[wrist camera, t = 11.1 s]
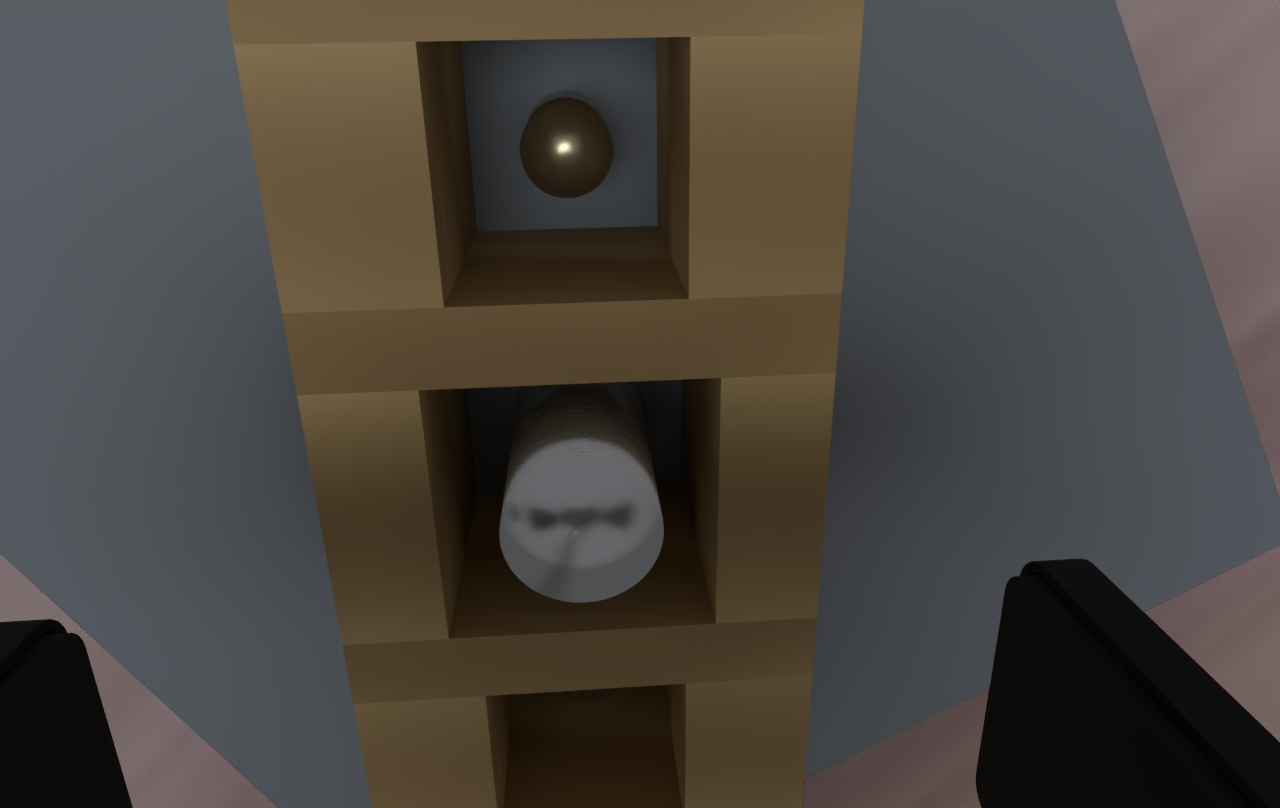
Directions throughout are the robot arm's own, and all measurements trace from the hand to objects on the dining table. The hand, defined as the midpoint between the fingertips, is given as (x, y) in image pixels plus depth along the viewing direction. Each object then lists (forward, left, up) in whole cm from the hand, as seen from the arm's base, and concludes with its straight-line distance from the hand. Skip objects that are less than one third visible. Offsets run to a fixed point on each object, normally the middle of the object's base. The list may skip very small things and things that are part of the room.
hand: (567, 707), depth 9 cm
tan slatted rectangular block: (+1, +1, -7) cm, 7 cm away
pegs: (+1, +1, -7) cm, 7 cm away
